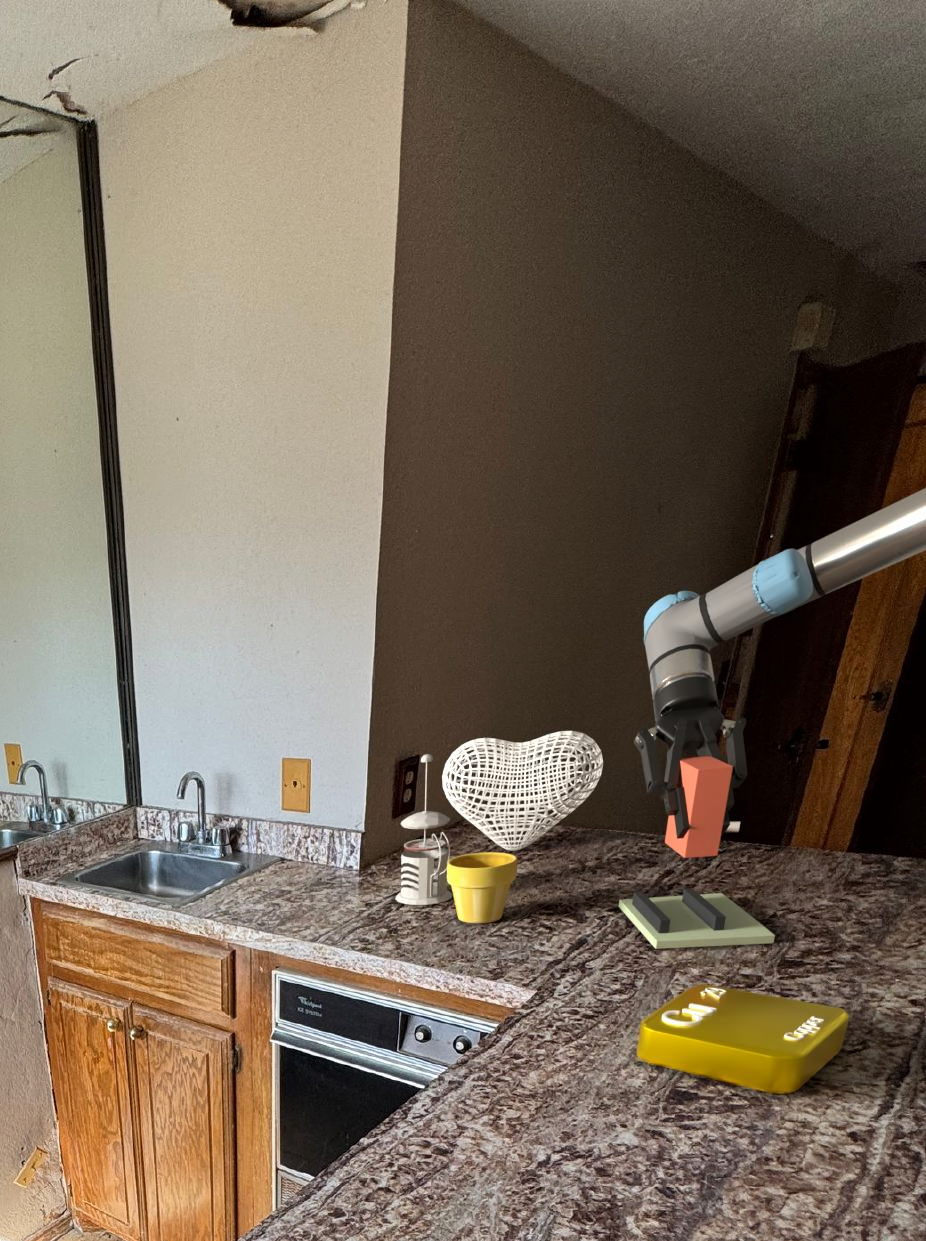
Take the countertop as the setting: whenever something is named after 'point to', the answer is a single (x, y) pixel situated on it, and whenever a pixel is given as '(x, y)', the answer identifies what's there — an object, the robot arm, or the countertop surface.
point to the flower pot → (481, 884)
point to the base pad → (693, 921)
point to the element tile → (743, 1037)
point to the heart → (530, 745)
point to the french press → (425, 859)
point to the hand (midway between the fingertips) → (703, 831)
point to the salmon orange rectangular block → (701, 806)
